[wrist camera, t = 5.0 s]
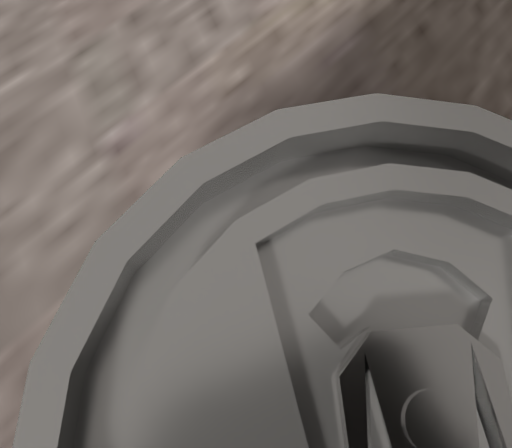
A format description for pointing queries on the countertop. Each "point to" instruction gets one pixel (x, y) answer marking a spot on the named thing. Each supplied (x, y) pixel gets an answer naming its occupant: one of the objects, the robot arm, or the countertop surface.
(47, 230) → the countertop surface
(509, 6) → the countertop surface
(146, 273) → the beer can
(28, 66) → the countertop surface
